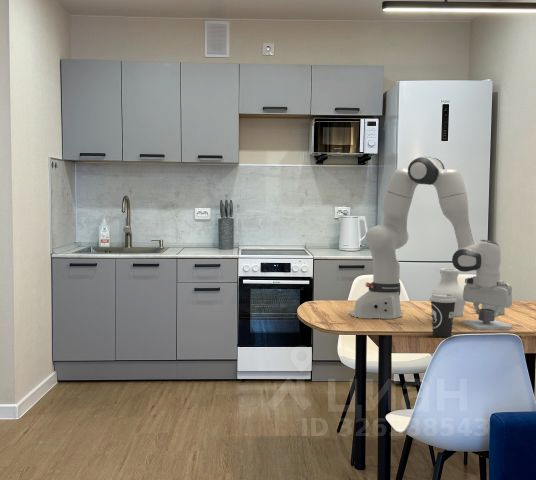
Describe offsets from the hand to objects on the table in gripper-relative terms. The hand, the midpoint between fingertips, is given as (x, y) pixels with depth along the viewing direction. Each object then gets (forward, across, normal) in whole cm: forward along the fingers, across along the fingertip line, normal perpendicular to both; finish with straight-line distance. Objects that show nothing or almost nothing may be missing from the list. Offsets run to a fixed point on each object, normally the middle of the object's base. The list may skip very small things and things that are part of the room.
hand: (486, 315), depth 257 cm
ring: (+2, 0, 0) cm, 2 cm away
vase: (+4, +24, -8) cm, 26 cm away
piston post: (+4, 0, 0) cm, 4 cm away
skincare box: (+4, +14, -27) cm, 31 cm away
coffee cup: (+4, -1, +29) cm, 29 cm away
